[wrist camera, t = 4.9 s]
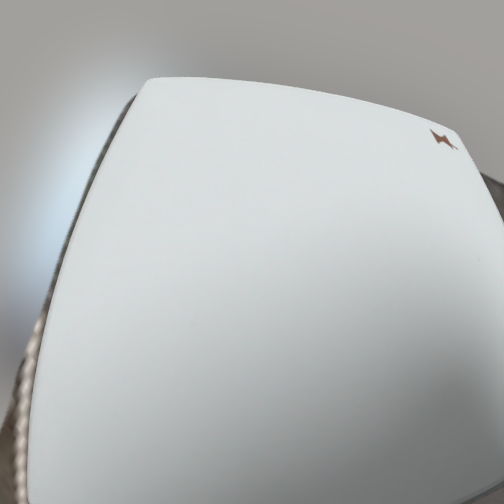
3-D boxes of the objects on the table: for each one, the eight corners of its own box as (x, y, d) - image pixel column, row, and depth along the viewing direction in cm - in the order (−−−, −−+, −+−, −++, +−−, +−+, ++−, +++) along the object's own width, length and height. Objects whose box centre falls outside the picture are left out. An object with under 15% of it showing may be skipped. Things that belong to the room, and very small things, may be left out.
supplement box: (181, 307, 16) (145, 66, 5) (321, 318, 17) (465, 126, 6) (166, 450, 12) (5, 508, 1) (323, 455, 13) (563, 453, 2)
